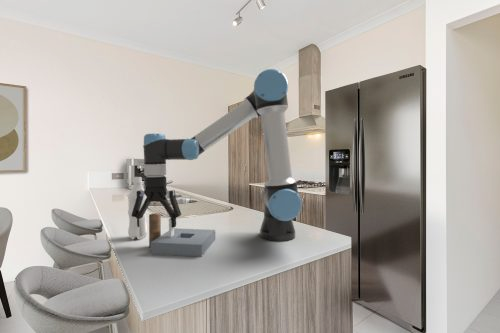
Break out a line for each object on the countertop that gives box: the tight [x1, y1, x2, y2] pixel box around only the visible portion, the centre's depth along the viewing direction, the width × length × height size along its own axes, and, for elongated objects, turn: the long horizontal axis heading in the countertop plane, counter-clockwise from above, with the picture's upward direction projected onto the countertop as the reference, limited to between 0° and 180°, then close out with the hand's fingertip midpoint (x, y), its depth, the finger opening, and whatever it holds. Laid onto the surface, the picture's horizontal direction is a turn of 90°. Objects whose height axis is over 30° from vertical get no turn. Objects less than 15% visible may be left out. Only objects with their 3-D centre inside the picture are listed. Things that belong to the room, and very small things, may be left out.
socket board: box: [150, 227, 216, 258], centre depth 94 cm, size 18×18×4 cm
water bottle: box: [127, 176, 148, 241], centre depth 103 cm, size 7×7×25 cm
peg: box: [148, 212, 162, 249], centre depth 93 cm, size 4×4×12 cm
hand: (157, 235), depth 93 cm, fingers open, 11 cm apart
